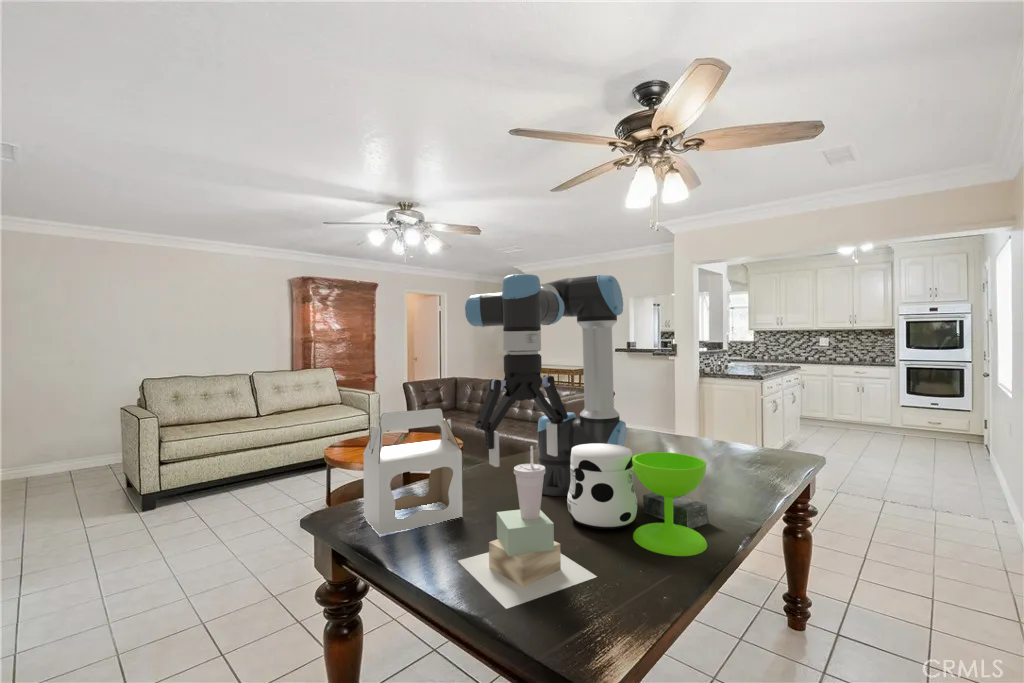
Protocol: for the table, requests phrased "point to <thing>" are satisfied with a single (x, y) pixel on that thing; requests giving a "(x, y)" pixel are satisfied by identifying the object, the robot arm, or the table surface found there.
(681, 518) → the stone block
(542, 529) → the sage block
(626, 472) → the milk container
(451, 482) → the gable box
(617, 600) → the table surface
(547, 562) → the beech tray
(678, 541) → the wineglass
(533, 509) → the smoothie
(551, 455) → the robot arm
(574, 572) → the felt mat
